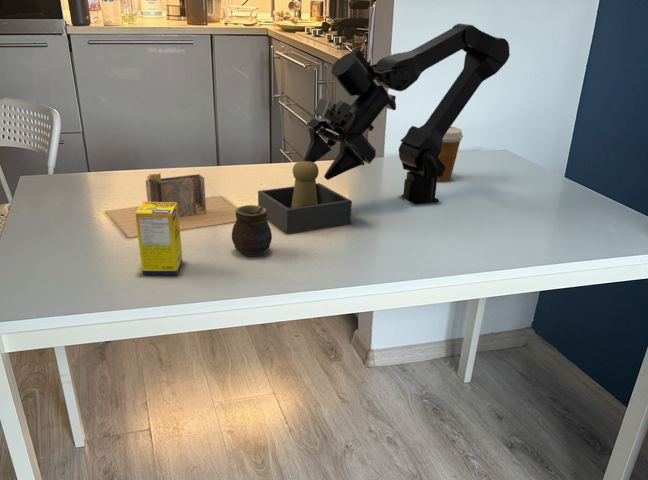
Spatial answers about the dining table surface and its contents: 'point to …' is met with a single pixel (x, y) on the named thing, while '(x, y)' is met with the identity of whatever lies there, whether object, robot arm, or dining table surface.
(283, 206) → the bin
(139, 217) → the supplement box
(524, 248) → the dining table surface
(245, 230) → the mate gourd
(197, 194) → the architectural model on board
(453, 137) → the disposable coffee cup
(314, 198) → the tan pawn figure
